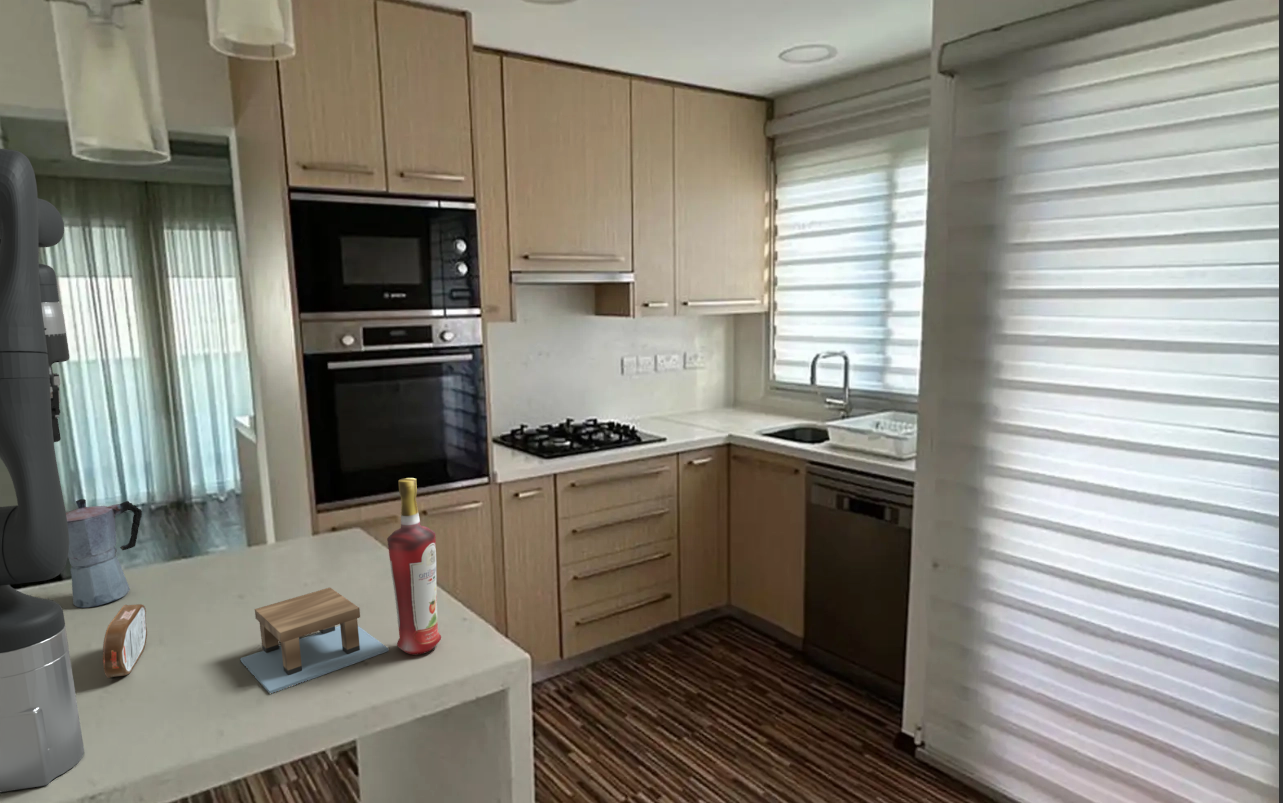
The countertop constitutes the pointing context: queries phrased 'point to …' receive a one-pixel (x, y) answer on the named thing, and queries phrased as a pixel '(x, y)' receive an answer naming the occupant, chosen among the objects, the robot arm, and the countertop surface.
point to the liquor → (414, 576)
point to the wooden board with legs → (307, 624)
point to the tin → (124, 640)
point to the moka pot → (97, 553)
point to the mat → (311, 659)
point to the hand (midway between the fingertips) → (51, 441)
